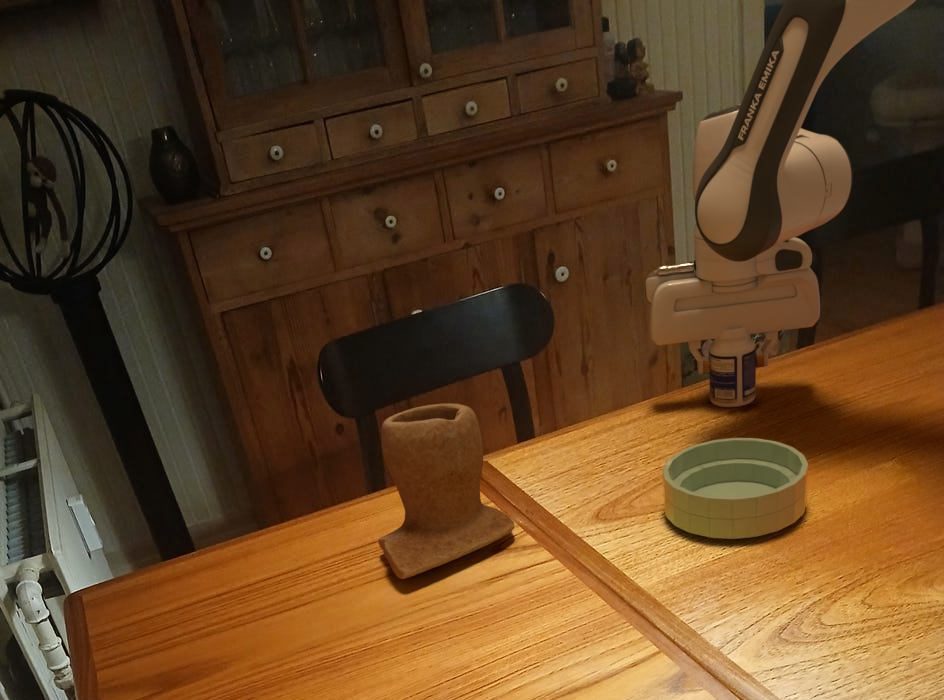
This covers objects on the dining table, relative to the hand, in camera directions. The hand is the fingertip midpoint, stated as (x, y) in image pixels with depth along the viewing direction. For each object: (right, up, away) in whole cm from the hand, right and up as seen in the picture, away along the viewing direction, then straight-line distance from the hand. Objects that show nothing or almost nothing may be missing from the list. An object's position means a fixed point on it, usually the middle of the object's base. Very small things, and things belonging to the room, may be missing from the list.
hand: (732, 369), depth 125 cm
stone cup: (-36, -24, -18) cm, 48 cm away
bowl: (-6, -21, -22) cm, 31 cm away
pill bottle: (+1, -4, +2) cm, 4 cm away
